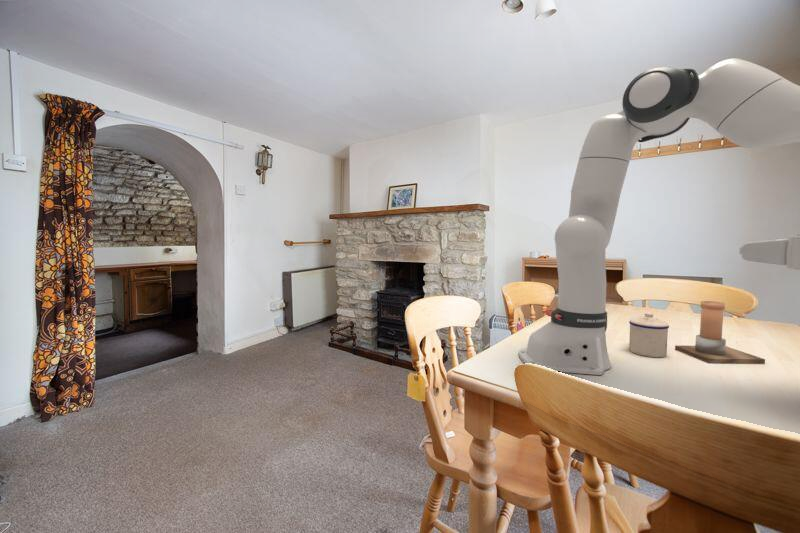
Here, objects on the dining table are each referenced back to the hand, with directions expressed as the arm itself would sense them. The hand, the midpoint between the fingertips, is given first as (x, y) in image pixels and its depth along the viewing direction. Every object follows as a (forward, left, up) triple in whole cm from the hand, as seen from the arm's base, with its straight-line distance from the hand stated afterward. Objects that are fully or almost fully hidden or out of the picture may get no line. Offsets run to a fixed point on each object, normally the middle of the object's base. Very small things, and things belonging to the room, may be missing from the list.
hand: (764, 250), depth 73 cm
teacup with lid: (-13, +18, -30) cm, 38 cm away
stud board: (+4, +14, -30) cm, 33 cm away
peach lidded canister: (+2, +14, -25) cm, 29 cm away
